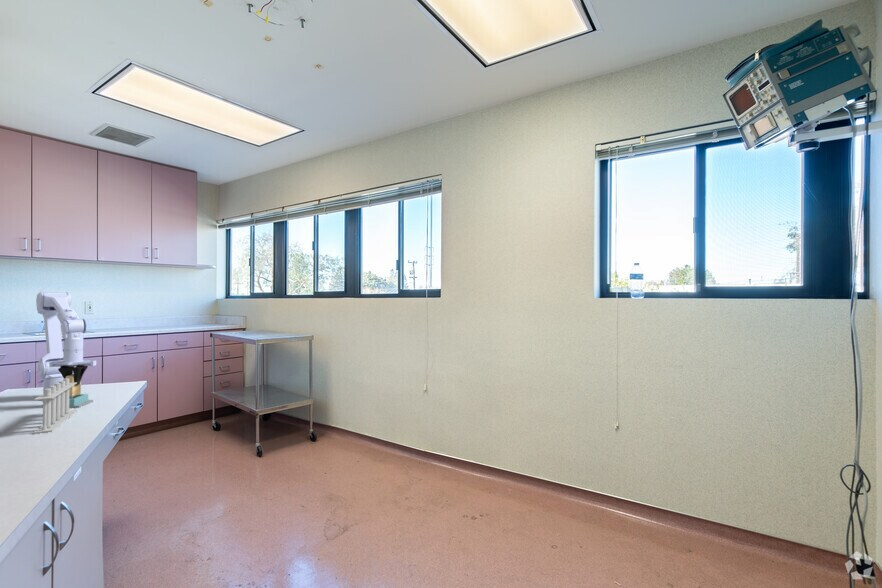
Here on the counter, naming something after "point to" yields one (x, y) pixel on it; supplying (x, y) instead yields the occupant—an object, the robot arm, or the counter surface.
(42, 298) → the robot arm
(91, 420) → the counter surface
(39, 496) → the counter surface
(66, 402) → the test tube rack
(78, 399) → the stand
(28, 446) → the counter surface
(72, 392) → the plank
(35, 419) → the counter surface
